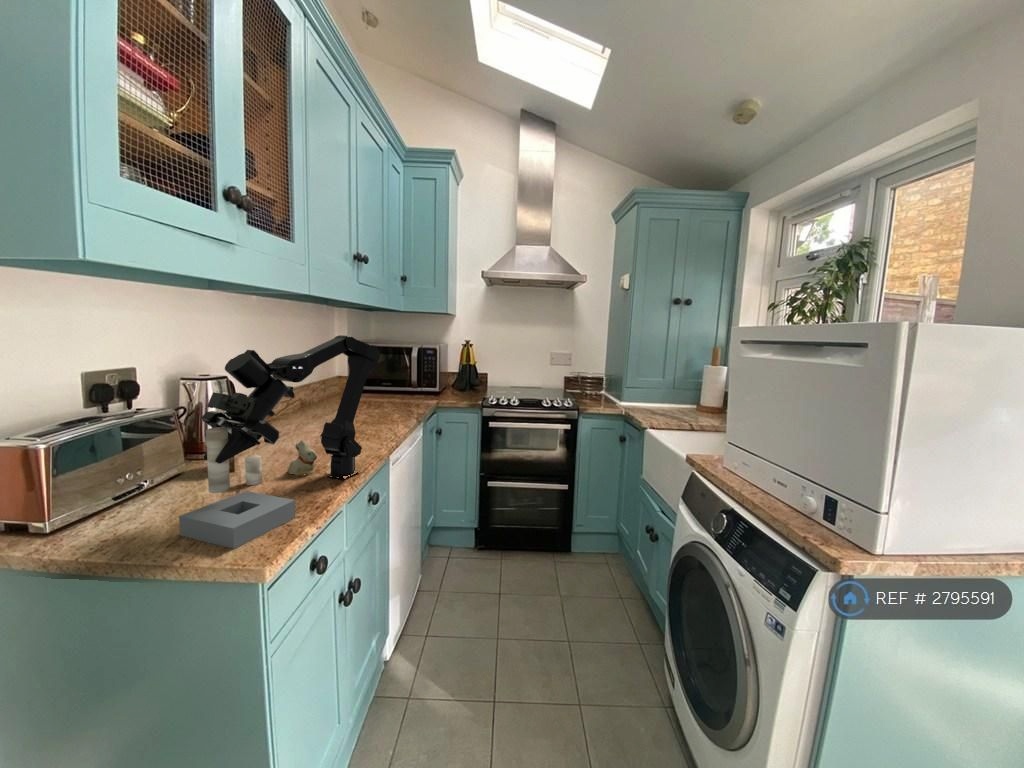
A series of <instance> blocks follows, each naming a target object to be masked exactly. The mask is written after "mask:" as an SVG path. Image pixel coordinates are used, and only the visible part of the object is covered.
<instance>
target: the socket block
mask: <svg viewBox="0 0 1024 768" xmlns="http://www.w3.org/2000/svg"><path fill="white" fill-rule="evenodd" d="M178 519H179V520H178V522H179V536H180V535H181V537H184V536H185V537H184V538H188V537H189V539H192V538H193V540H196V541H201V542H205V543H208V544H213V545H217V546H220V547H225V548H228V549H232V550H235V549H237V548H239V547H241V546H242V545H243V546H244V545H245V544H246V543H248V542H250V541H253V540H254V539H257V538H258V537H260V536H262V535H264V534H266V533H268V532H270V531H272V530H274V529H276V528H278V527H279V526H283V524H285V523H288V522H289V521H291V520H294V519H296V500H295V499H290V498H286V497H280V496H276V495H270V494H265V493H259V492H255V491H254V492H253V491H249V490H244V491H242V492H240V493H237V494H234V495H231V496H229V497H226V498H223V499H221V500H218V501H215V502H212V503H209V504H208V505H205V506H202V507H200V508H197V509H194V510H191V511H189V512H186V513H183V514H180V515H179V516H178Z"/></svg>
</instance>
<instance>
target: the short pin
mask: <svg viewBox="0 0 1024 768" xmlns="http://www.w3.org/2000/svg"><path fill="white" fill-rule="evenodd" d="M244 465H245V466H244V468H245V469H244V470H245V485H246V486H258V485H259V484H262V483H263V472H262V469H263V468H262V456H261V455H249V456H246V457H245V458H244Z"/></svg>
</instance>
